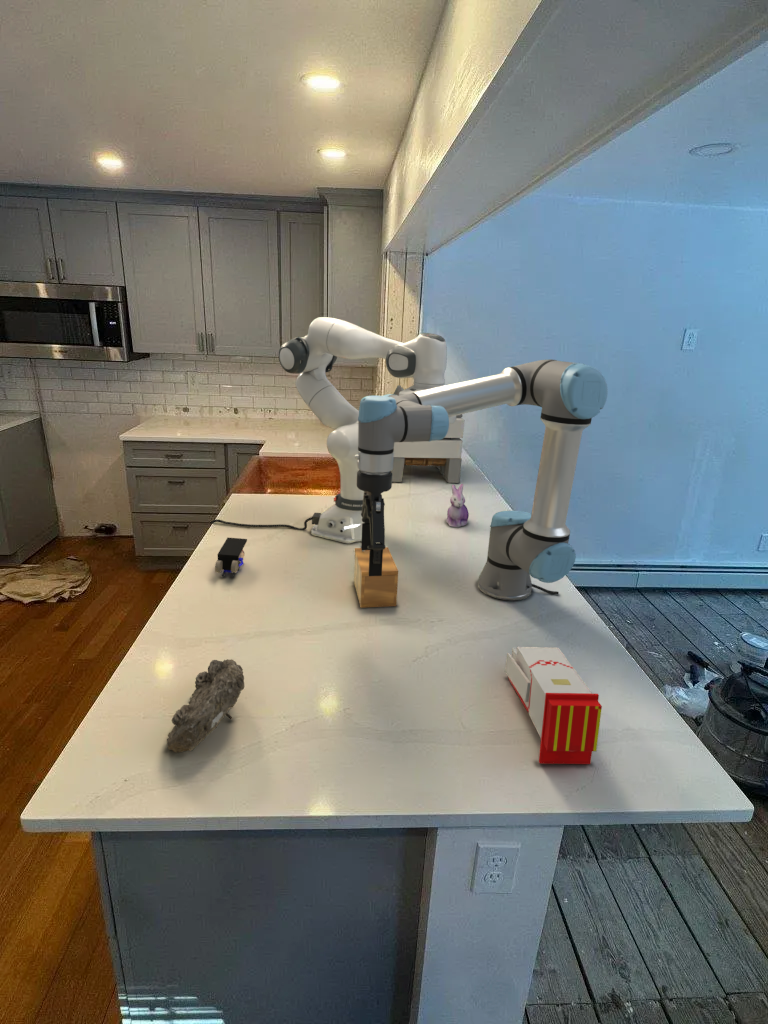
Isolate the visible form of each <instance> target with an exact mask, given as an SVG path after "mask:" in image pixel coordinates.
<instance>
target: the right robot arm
mask: <svg viewBox="0 0 768 1024" xmlns="http://www.w3.org/2000/svg"><path fill="white" fill-rule="evenodd" d="M607 399H608V384H607V381H606V378H605V376H604V375H603V373H602V372H601V371H600V370H599V369H597V367H595V366H591V365H588V364H585V363H581V362H572V361H564V360H563V361H562V360H558V359H540V360H539V359H538V360H534V361H531V362H525V363H522V364H518V365H514V366H508V367H505V368H504V369H503V370H502V371H501V372H500V373H497V374H496V373H495V374H492V375H488V376H483V377H478V378H474V379H469V380H464V381H461V382H456V383H450V384H447V385H446V384H445V386H441V387H437V388H432V389H428V390H423V391H419V392H414V393H409V394H404V395H400V396H398V395H395V394H394V393H387V394H383V395H366V396H363V397H362V398H361V399H360V402H359V408H358V410H359V417H358V421H359V422H358V454H359V455H355V459H356V460H358V466H357V467H358V469H359V470H358V472H357V487H358V489H360V490H362V491H364V496H363V504H362V513H361V516H362V522H364V523H362V541H360V542H361V543H360V544H361V546H360V548H361V550H370V553H369V576H382V558H383V549H385V547H386V537H385V535H386V533H385V531H386V530H385V531H384V526H385V505H386V503H385V498H383V495H382V493H386V492H388V491H390V490H392V487H393V482H392V473H391V470H393V457H394V443H395V442H420V441H428V442H431V441H436V440H441V439H443V438H444V437H445V436H446V435H447V432H448V429H449V417H452V416H456V415H460V414H462V415H465V414H469V413H472V412H477V411H481V410H485V409H486V410H487V409H490V408H495V407H498V406H502V405H507V406H509V407H516V406H520V405H521V406H522V405H523V406H524V405H527V406H536V407H540V408H541V412H540V421H541V422H542V423H543V425H544V426H545V428H544V433H543V434H544V435H543V439H542V445H541V451H540V459H539V464H538V469H537V470H538V471H537V476H536V484H535V489H534V495H533V502H532V509H531V512H527V511H523V510H502V511H498V512H496V513H494V514H493V515H492V517H491V522H490V524H489V527H490V528H489V539H488V546H487V556H486V561H485V564H484V566H483V568H482V570H481V572H480V574H479V576H478V579H477V588H478V590H479V591H480V592H482V593H483V594H485V595H486V596H488V597H491V598H494V599H497V600H502V601H520V600H524V599H528V598H529V597H530V596H531V595H532V591H533V588H534V589H537V590H539V591H542V592H543V593H546V594H550V595H559V591H556V590H555V591H554V590H549V589H547V588H543V587H542V586H539V585H536V584H534V583H532V579H531V577H532V578H533V579H536V580H538V581H539V582H541V583H546V584H550V583H551V584H552V583H555V582H558V581H560V580H563V578H565V576H566V575H568V574H569V573H570V571H572V569H573V566H574V565H575V562H576V558H577V553H576V550H575V549H574V547H573V545H571V544H570V543H569V542H570V536H571V530H570V528H569V527H568V525H567V517H568V511H569V507H570V502H571V496H572V490H573V484H574V480H575V475H576V469H577V463H578V458H579V452H580V447H581V441H582V437H583V436H582V435H583V431H584V430H585V429H587V428H588V427H589V426H591V424H592V419H593V418H595V417H596V416H598V415H599V414H600V413H601V410H603V409H604V407H605V405H606V403H607Z"/></svg>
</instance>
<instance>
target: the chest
mask: <svg viewBox="0 0 768 1024" xmlns="http://www.w3.org/2000/svg"><path fill="white" fill-rule="evenodd" d="M353 564H354V567H353V569H354V570H353V584H354V588H355V591H356V595H357V599H358V603H359V607H360V608H363V609H364V608H385V607H397V605H398V603H397V602H398V601H397V600H398V584H399V574H398V575H382V576H362V575H361V572H360V569H359V565H358V562H357V558H356V555H355V554H354V563H353Z"/></svg>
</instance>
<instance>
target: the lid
mask: <svg viewBox="0 0 768 1024" xmlns="http://www.w3.org/2000/svg"><path fill="white" fill-rule="evenodd" d="M384 531H386V526H385V525H384ZM353 552H354V556H355V555H356V558H357V562H358V565H359V569H360V572H361V575H362V576H369V553H370V550H361V547H355V548H354V551H353ZM382 575H398V576H399V569H398V567H397V564H396V562H395V560H394V557H393V555H392V553H391V551H390V548H389V546H385V549H383V558H382Z"/></svg>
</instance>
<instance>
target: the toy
mask: <svg viewBox="0 0 768 1024" xmlns="http://www.w3.org/2000/svg"><path fill="white" fill-rule="evenodd" d="M505 659H506V660H505V667H504V673H505V674H506V676H507V679H508V681H509V682H510V685H511V686H512V688H513V689H514V691H515V693H516V694H517V696H518V698H519V700H520V701H521V703H522V705H523V706H524V708H525V710H526V711H527V713H528V716H529V718H530V720H531V722H532V723H533V726H534V728H535V729H536V732H537V733H538V735H539V737H540V746H539V755H538V764H542V765H543V764H545V765H547V764H549V765H554V764H556V765H591V763H592V756H593V752H597V750H598V749H597V748H598V741H599V732H600V725H601V717H602V708H603V706H602V704H601V703H600V701H599V697H600V694H599V693H593V692H592V690H590V688H589V687H588V685H587V684H586V683H585V681H583V679H582V678H581V676H580V675H579V673H578V672H577V670H576V669H575V668H574V667H573V665H572V664H571V662H569V660H568V659H567V657H566V656H565V653H563V652H562V651H561V649H560V648H559V647H550V646H549V647H548V646H547V647H545V646H517V647H511V653H510V652H507V653H506V658H505Z"/></svg>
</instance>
